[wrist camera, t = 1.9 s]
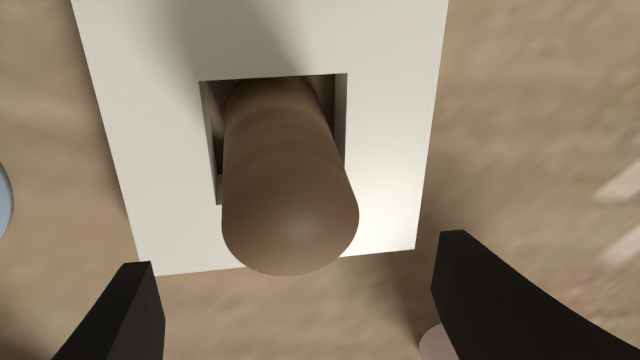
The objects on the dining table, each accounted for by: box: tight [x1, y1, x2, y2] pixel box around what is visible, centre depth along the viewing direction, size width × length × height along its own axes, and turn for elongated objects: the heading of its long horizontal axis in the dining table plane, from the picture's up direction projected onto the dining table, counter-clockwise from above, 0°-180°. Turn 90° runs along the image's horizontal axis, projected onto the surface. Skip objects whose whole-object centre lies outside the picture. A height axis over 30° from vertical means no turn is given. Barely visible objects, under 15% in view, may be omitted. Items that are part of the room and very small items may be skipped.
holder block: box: [71, 0, 448, 276], centre depth 19 cm, size 12×12×2 cm
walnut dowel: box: [221, 76, 359, 276], centre depth 17 cm, size 4×4×8 cm
